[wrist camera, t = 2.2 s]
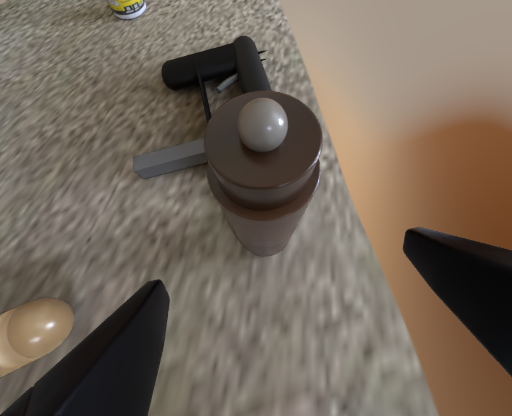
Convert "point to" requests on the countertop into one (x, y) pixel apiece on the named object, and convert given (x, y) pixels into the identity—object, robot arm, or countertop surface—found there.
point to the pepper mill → (263, 166)
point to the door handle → (204, 96)
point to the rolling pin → (32, 331)
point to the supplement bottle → (127, 8)
